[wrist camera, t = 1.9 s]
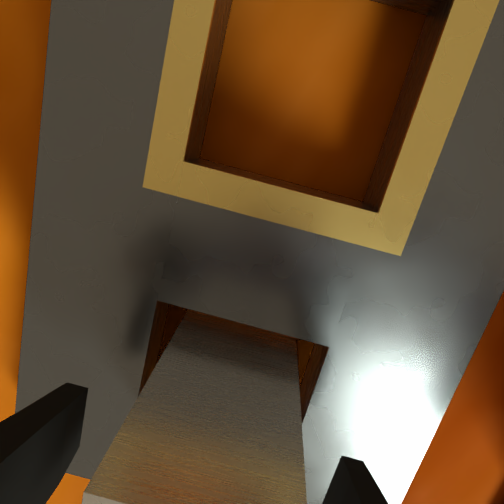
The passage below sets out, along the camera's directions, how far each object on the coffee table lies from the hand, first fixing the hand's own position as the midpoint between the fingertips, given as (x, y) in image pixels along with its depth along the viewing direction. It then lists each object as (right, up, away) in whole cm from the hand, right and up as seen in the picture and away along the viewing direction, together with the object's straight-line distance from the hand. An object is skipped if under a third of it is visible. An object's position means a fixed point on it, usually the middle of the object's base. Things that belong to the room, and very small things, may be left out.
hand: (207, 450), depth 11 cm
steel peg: (0, +1, +4) cm, 4 cm away
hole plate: (+2, +6, +3) cm, 7 cm away
